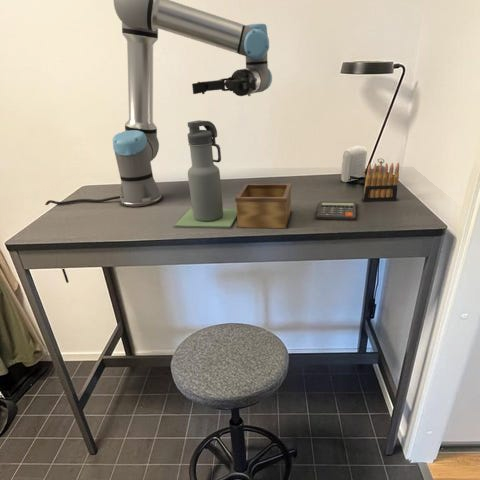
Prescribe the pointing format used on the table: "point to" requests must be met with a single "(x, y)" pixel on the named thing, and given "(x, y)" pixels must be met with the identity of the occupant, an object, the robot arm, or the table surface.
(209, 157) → the water bottle
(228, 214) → the desk mat
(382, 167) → the pocket watch
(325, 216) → the calculator
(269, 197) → the wooden box
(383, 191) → the ammunition clip
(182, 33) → the robot arm
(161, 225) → the table surface
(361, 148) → the photo printer
